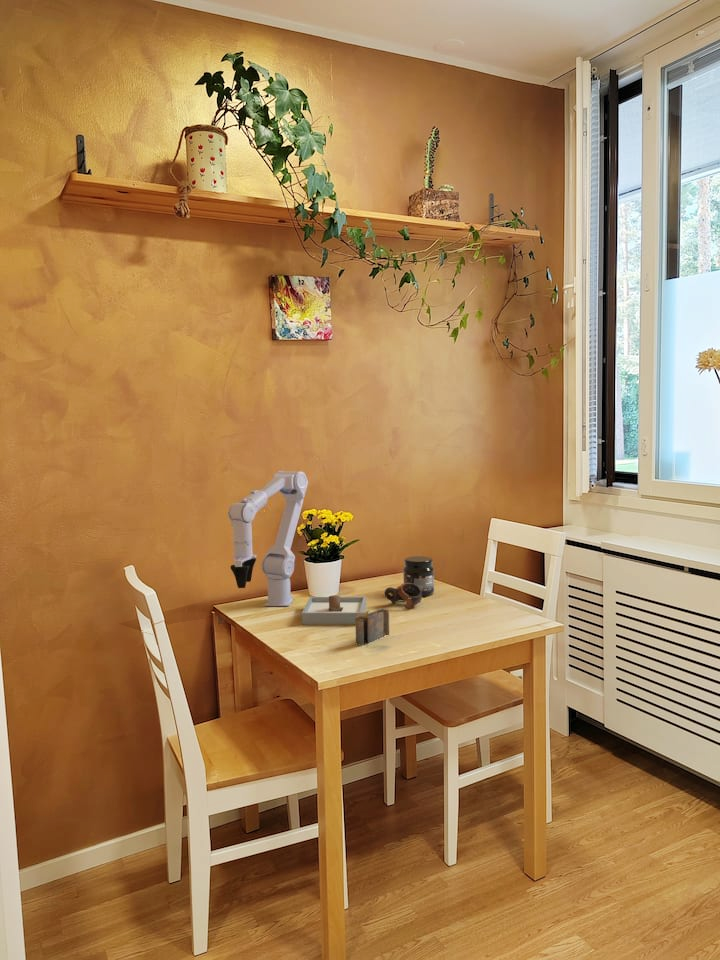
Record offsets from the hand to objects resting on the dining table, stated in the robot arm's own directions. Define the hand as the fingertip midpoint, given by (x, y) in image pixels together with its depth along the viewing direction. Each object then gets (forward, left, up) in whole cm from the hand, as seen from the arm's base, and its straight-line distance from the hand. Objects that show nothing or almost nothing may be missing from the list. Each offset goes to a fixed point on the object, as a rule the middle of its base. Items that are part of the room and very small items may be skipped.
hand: (244, 584), depth 227 cm
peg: (0, +28, -10) cm, 30 cm away
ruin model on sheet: (+22, +41, -11) cm, 48 cm away
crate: (0, +28, -10) cm, 30 cm away
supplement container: (-26, +54, -10) cm, 61 cm away
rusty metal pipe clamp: (-12, +49, -10) cm, 51 cm away
